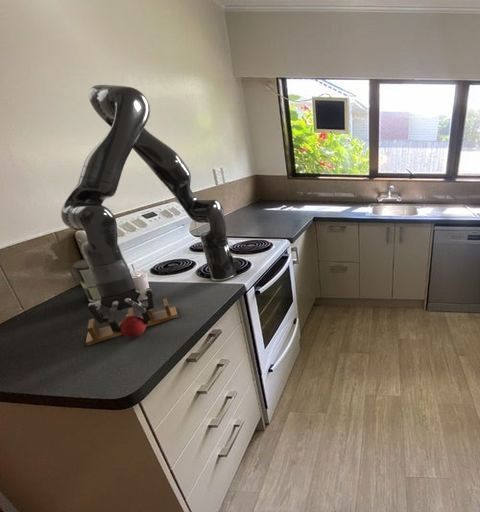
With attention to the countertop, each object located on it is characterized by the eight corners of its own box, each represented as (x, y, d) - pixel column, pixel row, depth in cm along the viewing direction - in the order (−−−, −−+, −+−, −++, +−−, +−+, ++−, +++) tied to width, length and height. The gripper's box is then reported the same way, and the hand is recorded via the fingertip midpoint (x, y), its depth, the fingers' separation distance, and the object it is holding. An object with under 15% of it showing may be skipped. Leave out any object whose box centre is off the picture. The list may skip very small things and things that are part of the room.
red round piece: (147, 328, 90) (139, 306, 87) (150, 336, 86) (142, 314, 83) (123, 336, 86) (114, 314, 83) (125, 346, 82) (115, 323, 79)
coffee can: (80, 302, 105) (63, 267, 99) (106, 288, 114) (92, 255, 109) (107, 302, 104) (91, 267, 99) (131, 288, 114) (118, 255, 108)
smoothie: (136, 304, 103) (122, 269, 98) (131, 298, 107) (117, 264, 101) (157, 296, 108) (145, 262, 102) (152, 291, 111) (139, 258, 106)
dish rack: (175, 309, 100) (171, 296, 98) (178, 317, 96) (173, 303, 94) (89, 335, 87) (82, 321, 85) (87, 345, 83) (80, 330, 81)
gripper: (73, 289, 71) (99, 343, 78) (146, 273, 80) (163, 323, 86) (77, 278, 77) (101, 330, 83) (144, 264, 85) (161, 312, 92)
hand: (133, 326), depth 85 cm, fingers closed on red round piece, 6 cm apart
